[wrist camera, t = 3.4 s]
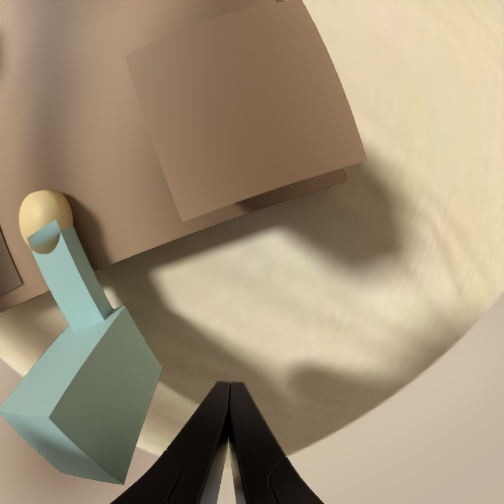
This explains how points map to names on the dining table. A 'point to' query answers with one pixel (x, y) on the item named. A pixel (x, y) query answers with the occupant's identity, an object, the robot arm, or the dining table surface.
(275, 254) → the dining table surface
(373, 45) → the dining table surface
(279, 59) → the stool seat
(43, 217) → the hinged leg
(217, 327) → the dining table surface
